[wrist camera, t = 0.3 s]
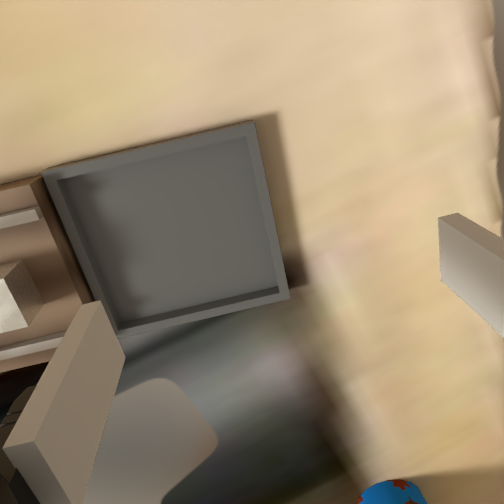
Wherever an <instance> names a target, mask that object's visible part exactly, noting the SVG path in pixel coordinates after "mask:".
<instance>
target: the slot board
mask: <svg viewBox="0 0 504 504" xmlns="http://www.w3.org/2000/svg"><path fill="white" fill-rule="evenodd" d="M21 259H23V261H24V264H25V266H26V268H27V270H28V272H29V274H30V276H31V278H32V280H33V282H34V284H35V286H36V288H37V290H38V292H39V294H40V296H41V298H42V301H43V303H44V305H43V307H42V308H41V309H40V311H39V312H38V314H37V315H36V316H35V318H34V319H33V321H32V322H31V324H30V325H29V326H28V327H25V328H21V329H16V330H12V331H8V332H4V333H0V372H4V371H9V370H13V369H17V368H22V367H26V366H30V365H34V364H39V363H43V362H47V361H50V360H51V359H52V357H53V355H54V353H55V351H56V349H57V348H58V346H59V344H60V342H61V340H62V339H63V337H64V335H65V333H66V331H67V329H68V328H69V326H70V324H71V322H72V320H73V319H74V317H75V315H76V313H77V311H78V309H79V308H80V306H81V305H83V304H87V303H91V302H95V301H96V300H95V298H94V296H93V293H92V291H91V289H90V286H89V284H88V282H87V279H86V277H85V275H84V272H83V270H82V268H81V265H80V263H79V260H78V258H77V256H76V253H75V251H74V249H73V246H72V244H71V242H70V239H69V237H68V235H67V232H66V230H65V228H64V225H63V223H62V221H61V218H60V216H59V214H58V211H57V209H56V206H55V204H54V202H53V199H52V197H51V195H50V192H49V190H48V188H47V185H46V183H45V181H44V178H43V176H42V175H40V176H35V177H31V178H27V179H22V180H18V181H14V182H10V183H5V184H1V185H0V264H4V263H9V262H13V261H17V260H21Z"/></svg>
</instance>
